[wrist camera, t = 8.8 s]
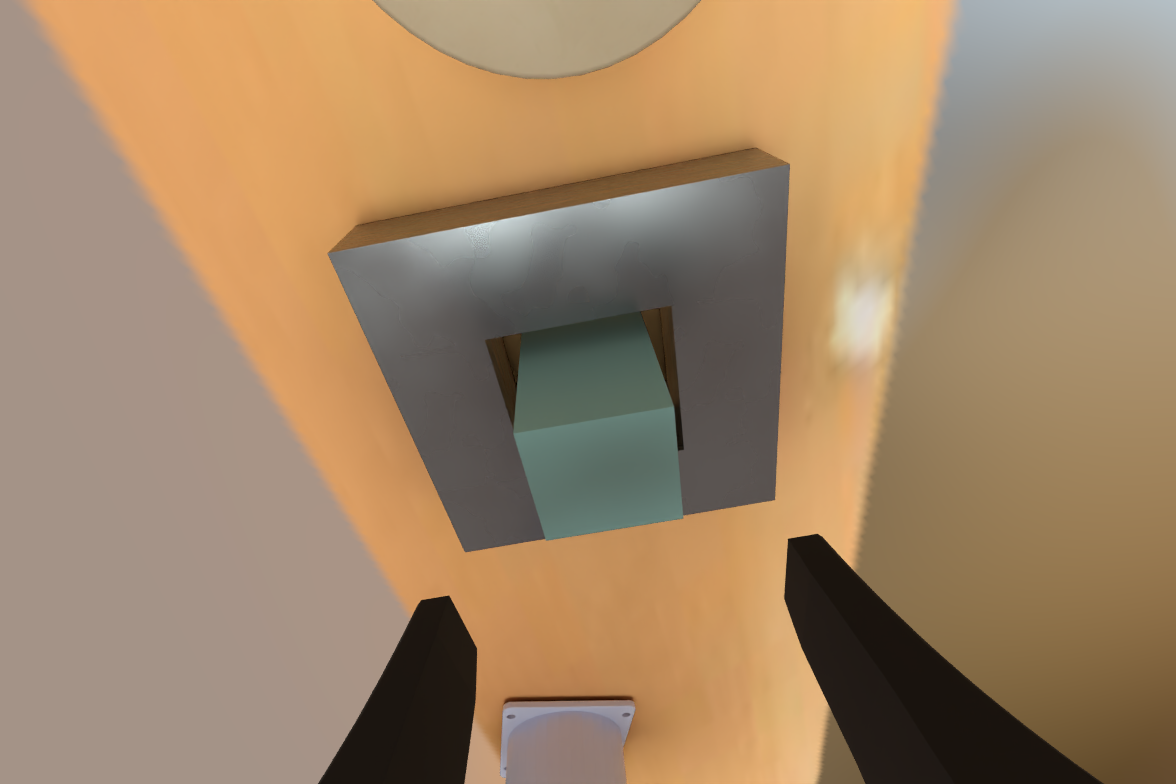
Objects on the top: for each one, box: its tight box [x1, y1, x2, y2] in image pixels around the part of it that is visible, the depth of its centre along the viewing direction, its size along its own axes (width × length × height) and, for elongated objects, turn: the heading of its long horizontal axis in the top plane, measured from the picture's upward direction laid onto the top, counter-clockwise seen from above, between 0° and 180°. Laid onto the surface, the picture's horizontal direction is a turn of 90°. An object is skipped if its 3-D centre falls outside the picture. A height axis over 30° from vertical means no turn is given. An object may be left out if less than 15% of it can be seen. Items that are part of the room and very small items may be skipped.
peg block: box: [513, 311, 683, 541], centre depth 16 cm, size 4×4×6 cm
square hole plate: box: [328, 148, 790, 552], centre depth 18 cm, size 12×12×2 cm
